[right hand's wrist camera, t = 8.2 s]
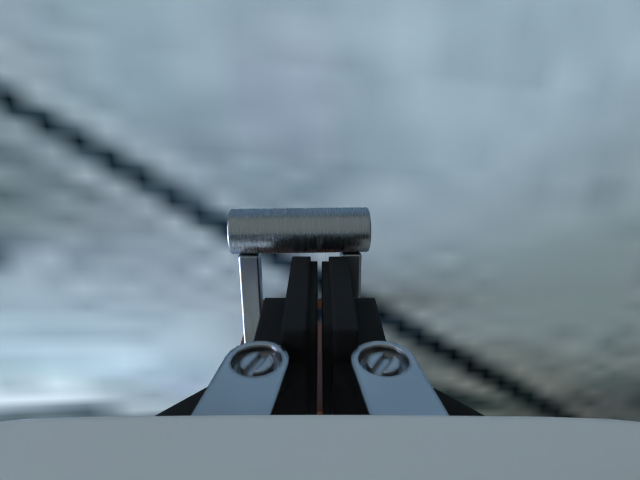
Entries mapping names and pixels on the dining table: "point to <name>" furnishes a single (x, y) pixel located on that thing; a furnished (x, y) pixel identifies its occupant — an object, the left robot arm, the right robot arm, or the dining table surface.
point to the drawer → (294, 237)
